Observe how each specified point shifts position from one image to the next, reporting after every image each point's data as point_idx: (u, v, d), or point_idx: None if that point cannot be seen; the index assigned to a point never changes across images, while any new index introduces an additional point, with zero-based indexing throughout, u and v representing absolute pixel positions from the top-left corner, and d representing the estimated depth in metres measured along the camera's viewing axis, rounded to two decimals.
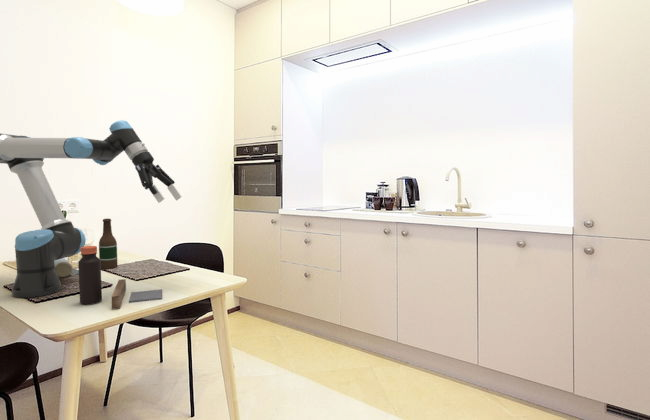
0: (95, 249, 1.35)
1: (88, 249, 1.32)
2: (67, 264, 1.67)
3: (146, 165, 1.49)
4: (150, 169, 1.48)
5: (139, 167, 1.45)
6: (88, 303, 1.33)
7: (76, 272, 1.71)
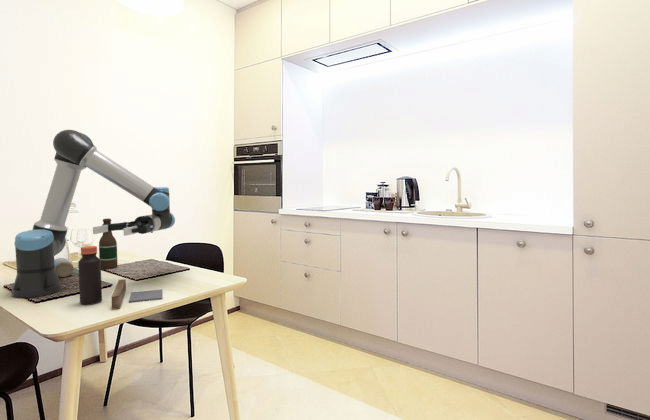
0: (95, 249, 1.35)
1: (88, 249, 1.32)
2: (68, 264, 1.67)
3: None
4: None
5: (151, 227, 1.57)
6: (88, 303, 1.33)
7: (77, 272, 1.71)
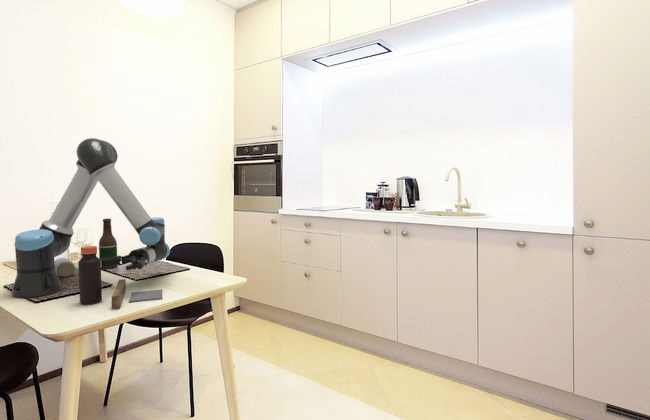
0: (95, 249, 1.35)
1: (88, 249, 1.32)
2: (70, 264, 1.68)
3: None
4: None
5: (146, 262, 1.53)
6: (88, 303, 1.33)
7: None
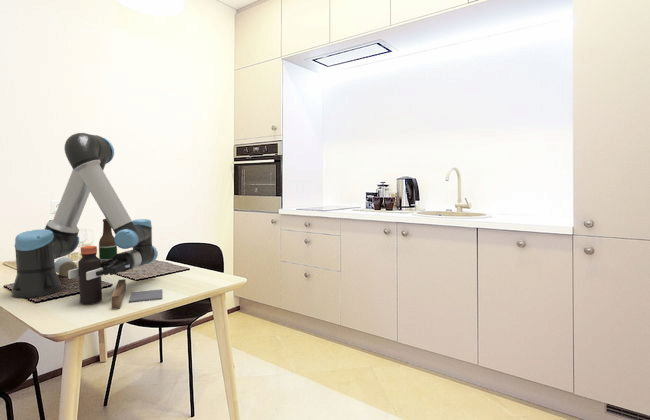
0: (95, 249, 1.35)
1: (88, 249, 1.32)
2: (72, 263, 1.68)
3: None
4: None
5: (127, 267, 1.44)
6: (88, 303, 1.33)
7: None
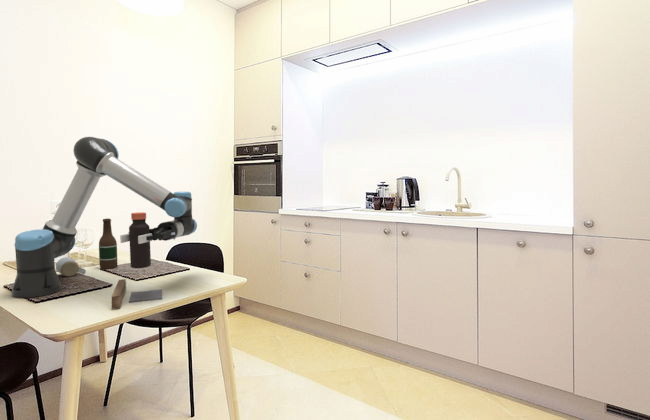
0: (145, 215, 1.39)
1: (139, 214, 1.37)
2: (73, 263, 1.69)
3: None
4: None
5: (173, 235, 1.49)
6: (139, 267, 1.38)
7: (82, 271, 1.73)
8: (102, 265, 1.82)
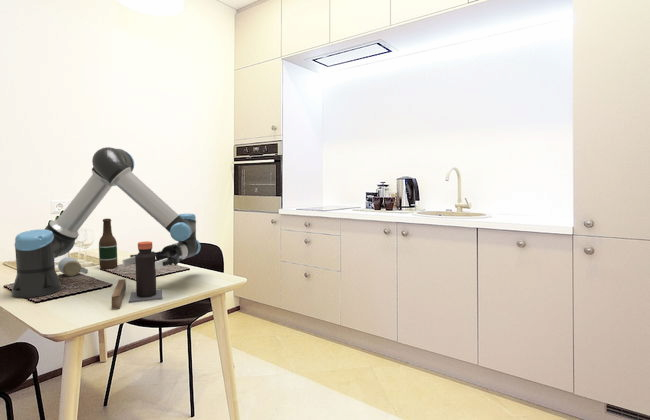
0: (151, 244, 1.41)
1: (145, 244, 1.39)
2: (76, 263, 1.69)
3: None
4: None
5: (180, 258, 1.52)
6: (145, 296, 1.40)
7: (85, 271, 1.73)
8: (102, 265, 1.82)
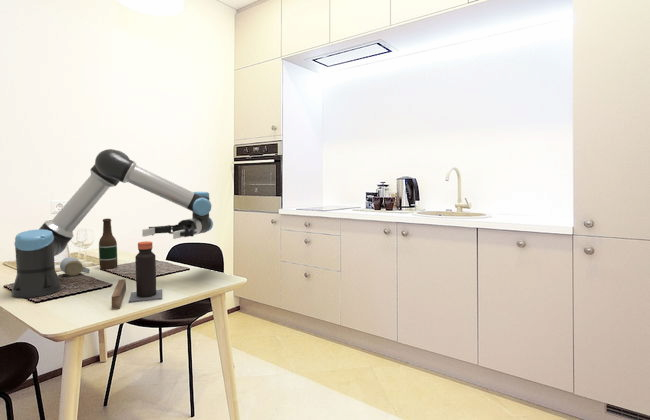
0: (151, 244, 1.41)
1: (145, 244, 1.39)
2: (77, 263, 1.70)
3: None
4: None
5: (195, 231, 1.61)
6: (145, 296, 1.40)
7: (86, 270, 1.74)
8: (102, 265, 1.82)
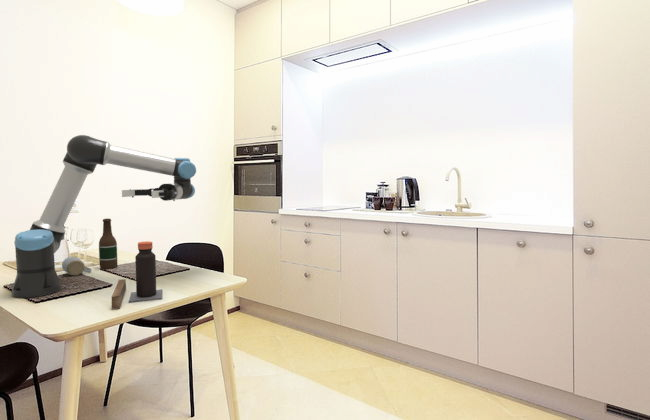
0: (151, 244, 1.41)
1: (145, 244, 1.39)
2: (79, 262, 1.70)
3: None
4: None
5: (175, 194, 1.64)
6: (145, 296, 1.40)
7: (88, 270, 1.74)
8: (102, 265, 1.82)
